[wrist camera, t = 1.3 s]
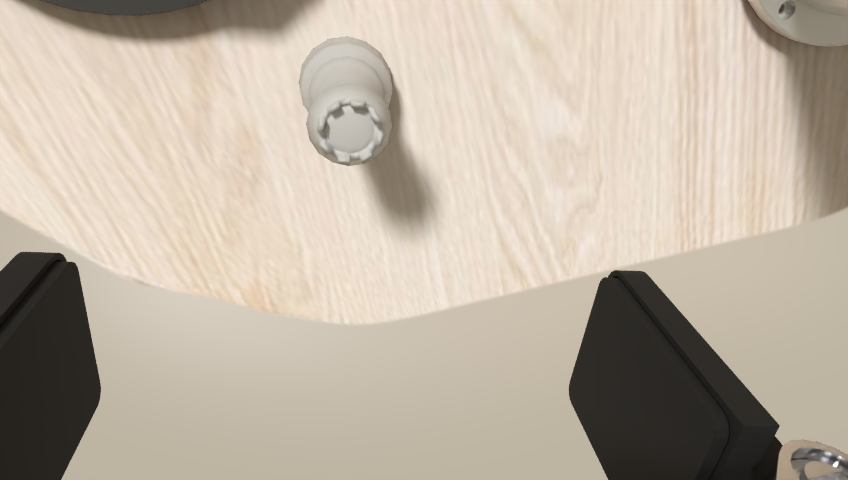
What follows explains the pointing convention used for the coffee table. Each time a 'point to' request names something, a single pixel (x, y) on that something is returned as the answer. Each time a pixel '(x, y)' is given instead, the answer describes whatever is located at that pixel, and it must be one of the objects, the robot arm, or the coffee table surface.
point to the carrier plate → (125, 6)
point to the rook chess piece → (347, 100)
